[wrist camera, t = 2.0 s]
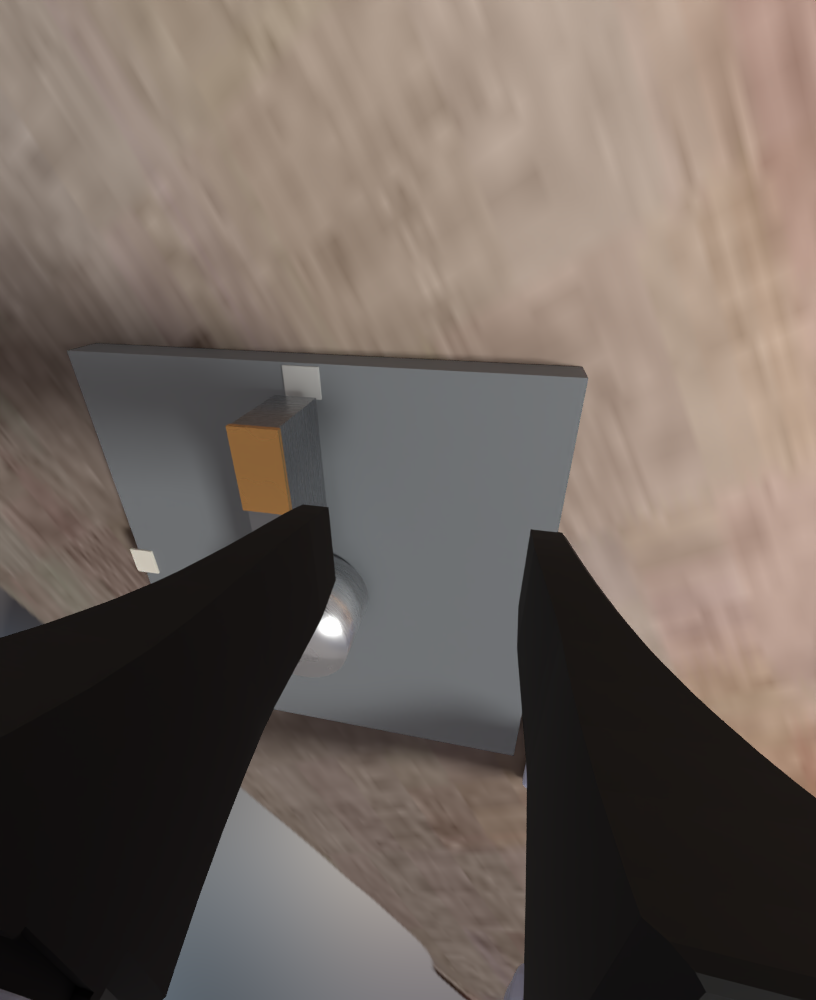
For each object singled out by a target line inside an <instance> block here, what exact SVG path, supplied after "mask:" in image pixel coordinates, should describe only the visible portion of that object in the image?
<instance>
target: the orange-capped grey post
mask: <svg viewBox="0 0 816 1000" xmlns="http://www.w3.org/2000/svg"><path fill="white" fill-rule="evenodd" d="M226 431H227V436H228V441H229V446H230V450H231V455H232V460H233V465H234V469H235V474H236V479H237V484H238V489H239V493H240V498H241V503H242V508H243V510H245V511H248V513H249V518H250V523H251V528H252V532H253V531H254V530H256V529H258V528H260V527H261V526H263V525H265V524H267V523H268V522H270V521H272V520H274V519H275V518H277V517H279V516H281V515H283V514H284V513H286V512H288V511H290V510H292V509H294V508H296V507H298V506H300V505H302V504H304V505H313V506H322V507H327V503H326V493H325V484H324V474H323V464H322V454H321V444H320V434H319V425H318V415H317V405H316V398H312V397H296V396H281V395H273V396H272V397H270V398H269V399H267V400H266V401H264V402H263V403H261V404H260V405H258V406H257V407H255V408H254V409H252V410H251V411H249V412H248V413H246V414H245V415H243V416H242V417H240V418H238V419H237V420H235V421H234V422H232V423H231V424H228V425H226ZM333 557H334V567H335V577H336V581H335V584H334V587H333V589H332V592H331V595H330V598H329V601H328V603H327V606H326V609H325V611H324V614H323V616H322V619H321V621H320V623H319V625H318V627H317V629H316V631H315V632H314V634H313V636H312V638H311V640H310V642H309V644H308V646H307V648H306V649H305V651H304V653H303V655H302V657H301V659H300V661H299V663H298V664H297V666H296V668H295V670H294V672H293V674H294V675H298V676H303V677H323V676H327V675H330V674H332V673H335V672H336V671H337V670H339V669H340V668H341V667H342V666H343V664H344V662H345V660H346V658H347V655H348V653H349V650H350V648H351V645H352V643H353V640H354V638H355V635H356V633H357V630H358V628H359V625H360V623H361V620H362V618H363V615H364V613H365V610H366V608H367V605H368V599H369V596H368V590H367V587H366V584H365V582H364V580H363V579H362V577H361V576H360V575H359V573H358V572H357V571H356V570H355V569H354V568H353V567H351V566H350V565H349V564H348V563H346V562H345V561H343V560H341V559H339V558H337V557H335V556H333Z"/></svg>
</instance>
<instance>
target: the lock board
mask: <svg viewBox="0 0 816 1000" xmlns="http://www.w3.org/2000/svg"><path fill="white" fill-rule="evenodd" d="M67 353H68V355H69V358H70V361H71V364H72V367H73V369H74V372H75V375H76V378H77V380H78V383H79V386H80V389H81V391H82V394H83V397H84V400H85V403H86V405H87V408H88V411H89V414H90V416H91V419H92V422H93V425H94V428H95V430H96V433H97V436H98V439H99V441H100V444H101V447H102V450H103V452H104V455H105V458H106V461H107V464H108V466H109V469H110V472H111V475H112V477H113V480H114V483H115V486H116V488H117V491H118V494H119V497H120V500H121V502H122V505H123V508H124V511H125V513H126V516H127V519H128V522H129V524H130V527H131V530H132V533H133V536H134V538H135V541H136V544H137V547H138V549H136V548H131V549H130V550H131V553H132V556H133V558H134V561H135V564H136V566H137V569H138V571H143V572H147V574H148V577H149V580H150V583H151V584H152V583H154V582H156V581H158V580H160V579H163V578H165V577H167V576H169V575H171V574H173V573H175V572H178V571H180V570H182V569H183V568H185V567H187V566H189V565H191V564H193V563H195V562H197V561H199V560H201V559H203V558H205V557H207V556H209V555H211V554H213V553H214V552H216V551H218V550H220V549H222V548H224V547H226V546H228V545H230V544H231V543H233V542H235V541H237V540H238V539H240V538H242V537H244V536H246V535H247V534H249V533H251V532H252V528H251V523H250V518H249V513H248V511H245V510H243V508H242V503H241V498H240V493H239V489H238V484H237V479H236V474H235V469H234V465H233V460H232V455H231V450H230V446H229V441H228V436H227V431H226V425H228V424H231V423H232V422H234V421H235V420H237V419H238V418H240V417H242V416H243V415H245V414H246V413H248V412H249V411H251V410H252V409H254V408H255V407H257V406H258V405H260V404H261V403H263V402H264V401H266V400H267V399H269V398H270V397H272V396H273V395H281V396H296V397H312V398H316V405H317V415H318V425H319V434H320V444H321V454H322V464H323V474H324V484H325V493H326V503H327V507H329V517H330V527H331V537H332V547H333V556H335V557H337V558H339V559H341V560H343V561H345V562H346V563H348V564H349V565H350V566H351V567H353V568H354V569H355V570H356V571H357V572H358V573H359V575H360V576H361V577H362V579H363V580H364V582H365V584H366V587H367V590H368V596H369V599H368V605H367V608H366V610H365V613H364V615H363V618H362V620H361V623H360V625H359V628H358V630H357V633H356V635H355V638H354V640H353V643H352V645H351V648H350V650H349V653H348V655H347V658H346V660H345V662H344V664H343V666H342V667H341V668H340V669H339V670H337V671H336V672H335V673H332V674H330V675H327V676H323V677H303V676H298V675H294V674H292V676H291V677H290V679H289V681H288V683H287V685H286V687H285V689H284V690H283V692H282V694H281V696H280V698H279V700H278V702H277V703H276V705H275V707H274V709H275V710H280V711H285V712H290V713H296V714H301V715H306V716H311V717H316V718H321V719H326V720H332V721H337V722H342V723H347V724H352V725H357V726H362V727H368V728H373V729H378V730H383V731H388V732H393V733H399V734H404V735H409V736H414V737H419V738H424V739H429V740H435V741H440V742H445V743H450V744H455V745H460V746H465V747H471V748H476V749H481V750H486V751H491V752H496V753H502V754H507V755H512V756H514V751H515V746H516V741H517V736H518V730H519V725H520V720H521V715H522V705H521V693H520V681H519V668H518V656H517V631H518V605H519V599H520V592H521V586H522V580H523V574H524V568H525V562H526V555H527V549H528V543H529V537H530V531H531V529H532V530H542V531H551V532H558V528H559V523H560V518H561V513H562V508H563V503H564V498H565V493H566V488H567V483H568V478H569V473H570V468H571V463H572V458H573V453H574V448H575V443H576V437H577V432H578V427H579V422H580V417H581V412H582V407H583V402H584V397H585V392H586V387H587V382H588V377H587V375H586V373H585V371H584V369H583V367H574V366H554V365H533V364H513V363H492V362H472V361H451V360H430V359H410V358H389V357H369V356H348V355H328V354H307V353H287V352H266V351H246V350H225V349H205V348H184V347H163V346H143V345H122V344H102V343H95V344H91V345H87V346H83V347H79V348H75V349H71V350H67Z"/></svg>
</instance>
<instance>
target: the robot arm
mask: <svg viewBox="0 0 816 1000" xmlns="http://www.w3.org/2000/svg"><path fill="white" fill-rule="evenodd" d="M335 581H336V577H335V567H334V557H333V547H332V537H331V527H330V517H329V507H322V506H313V505H304V504H302V505H300V506H298V507H296V508H294V509H292V510H290V511H288V512H286V513H284V514H283V515H281V516H279V517H277V518H275V519H274V520H272V521H270V522H268V523H267V524H265V525H263V526H261V527H260V528H258V529H256V530H254V531H253V532H251V533H249V534H247V535H246V536H244V537H242V538H240V539H238V540H237V541H235V542H233V543H231V544H230V545H228V546H226V547H224V548H222V549H220V550H218V551H216V552H214V553H213V554H211V555H209V556H207V557H205V558H203V559H201V560H199V561H197V562H195V563H193V564H191V565H189V566H187V567H185V568H183V569H182V570H180V571H178V572H175V573H173V574H171V575H169V576H167V577H165V578H163V579H160V580H158V581H156V582H154V583H152V584H149V585H147V586H145V587H142V588H140V589H137V590H135V591H133V592H130V593H128V594H126V595H123V596H121V597H118V598H116V599H113V600H111V601H108V602H105V603H103V604H100V605H97V606H94V607H91V608H89V609H86V610H83V611H80V612H77V613H75V614H72V615H69V616H66V617H63V618H61V619H58V620H55V621H52V622H49V623H46V624H43V625H40V626H37V627H34V628H31V629H28V630H24V631H21V632H18V633H15V634H12V635H8V636H5V637H2V638H0V1000H163V999H164V998H165V997H166V994H167V991H168V988H169V985H170V982H171V978H172V976H173V973H174V969H175V966H176V963H177V960H178V957H179V955H180V952H181V948H182V946H183V943H184V940H185V937H186V934H187V931H188V928H189V925H190V922H191V919H192V916H193V913H194V910H195V907H196V904H197V901H198V898H199V895H200V893H201V890H202V887H203V884H204V881H205V879H206V876H207V873H208V871H209V868H210V865H211V862H212V860H213V857H214V854H215V851H216V848H217V846H218V843H219V840H220V838H221V834H222V832H223V829H224V827H225V824H226V822H227V819H228V817H229V814H230V811H231V809H232V806H233V804H234V801H235V799H236V796H237V793H238V791H239V789H240V786H241V783H242V781H243V778H244V776H245V773H246V771H247V769H248V766H249V764H250V761H251V759H252V757H253V754H254V752H255V749H256V747H257V744H258V742H259V740H260V737H261V735H262V732H263V730H264V728H265V726H266V724H267V722H268V720H269V717H270V715H271V713H272V711H273V709H274V707H275V705H276V703H277V702H278V700H279V698H280V696H281V694H282V692H283V690H284V689H285V687H286V685H287V683H288V681H289V679H290V677H291V676H292V674H293V672H294V670H295V668H296V666H297V664H298V663H299V661H300V659H301V657H302V655H303V653H304V651H305V649H306V648H307V646H308V644H309V642H310V640H311V638H312V636H313V634H314V632H315V631H316V629H317V627H318V625H319V623H320V621H321V619H322V616H323V614H324V611H325V609H326V606H327V603H328V601H329V598H330V595H331V592H332V589H333V587H334V584H335ZM517 656H518V668H519V681H520V693H521V705H522V716H523V728H524V740H525V752H526V764H525V769H524V773H523V785H524V786H525V787H526V788H527V840H526V908H525V953H524V963H523V964H521V965H520V966H519V967H518V968H517V970H516V972H515V974H514V976H513V979H512V981H511V982H510V984H509V986H508V988H507V990H506V993H505V996H504V1000H816V798H815V797H814V796H813V795H811V794H810V793H809V792H807V791H806V790H805V789H804V788H802V787H801V786H800V785H798V784H797V783H796V782H795V781H793V780H792V779H791V778H790V777H788V776H787V775H786V774H785V773H784V772H782V771H781V770H780V769H779V768H777V767H776V766H775V765H774V764H773V763H771V762H770V761H769V760H768V759H766V758H765V757H764V756H763V755H762V754H760V753H759V752H758V751H757V750H756V749H755V748H753V747H752V746H751V745H750V744H749V743H748V742H747V741H745V740H744V739H743V738H742V737H741V736H740V735H739V734H737V733H736V732H735V731H734V730H733V729H732V728H731V727H729V726H728V725H727V724H726V723H725V722H724V721H723V720H721V719H720V718H719V717H718V716H717V715H716V714H715V713H714V712H712V711H711V710H710V709H709V708H708V707H707V706H706V705H705V704H704V703H703V702H702V701H701V700H700V699H698V698H697V697H696V696H695V695H694V694H693V693H692V692H691V691H690V690H689V689H688V688H687V687H686V686H685V685H684V684H683V683H682V682H681V681H680V680H679V679H678V678H677V677H676V676H675V675H674V674H673V673H672V672H671V671H670V670H669V669H668V668H667V667H666V666H665V665H664V664H663V663H662V662H661V661H660V660H659V659H658V658H657V657H656V656H655V655H654V653H653V652H652V651H651V650H650V649H649V648H648V647H647V646H646V645H645V643H644V642H643V641H642V640H641V639H640V638H639V636H638V635H637V634H636V633H635V632H634V631H633V629H632V628H631V627H630V626H629V625H628V624H627V622H626V621H625V620H624V619H623V617H622V616H621V615H620V614H619V612H618V611H617V610H616V609H615V607H614V606H613V605H612V603H611V602H610V601H609V599H608V598H607V597H606V595H605V594H604V593H603V591H602V590H601V589H600V587H599V586H598V585H597V583H596V582H595V580H594V579H593V578H592V576H591V575H590V573H589V572H588V570H587V569H586V568H585V566H584V565H583V563H582V562H581V560H580V559H579V557H578V556H577V554H576V553H575V551H574V549H573V548H572V546H571V545H570V543H569V542H568V540H567V538H566V537H565V536H564V535H563V533H560V532H551V531H542V530H532V529H531V531H530V537H529V543H528V549H527V555H526V562H525V568H524V574H523V580H522V586H521V592H520V599H519V605H518V631H517Z"/></svg>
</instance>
